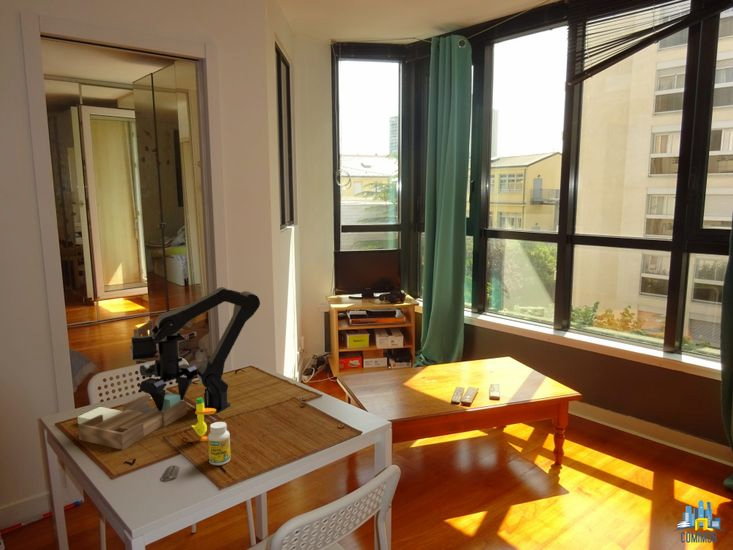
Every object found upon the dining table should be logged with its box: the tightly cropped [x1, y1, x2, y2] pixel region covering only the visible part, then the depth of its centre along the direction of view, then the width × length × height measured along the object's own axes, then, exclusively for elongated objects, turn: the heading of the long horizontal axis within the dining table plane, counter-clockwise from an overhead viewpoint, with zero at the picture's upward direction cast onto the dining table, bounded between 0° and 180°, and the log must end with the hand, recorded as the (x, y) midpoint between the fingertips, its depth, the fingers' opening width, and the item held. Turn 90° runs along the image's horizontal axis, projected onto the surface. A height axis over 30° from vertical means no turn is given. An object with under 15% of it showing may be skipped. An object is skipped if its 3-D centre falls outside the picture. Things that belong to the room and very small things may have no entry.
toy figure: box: [191, 397, 217, 442], centre depth 142 cm, size 7×4×12 cm, turn 99°
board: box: [77, 406, 123, 425], centre depth 155 cm, size 10×8×2 cm
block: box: [158, 392, 181, 411], centre depth 158 cm, size 4×4×4 cm
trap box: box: [77, 393, 188, 451], centre depth 151 cm, size 16×25×4 cm, turn 159°
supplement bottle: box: [207, 421, 232, 466], centre depth 131 cm, size 5×5×10 cm
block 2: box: [160, 464, 180, 482], centre depth 125 cm, size 4×6×2 cm, turn 9°
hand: (171, 405), depth 158 cm, fingers open, 9 cm apart
